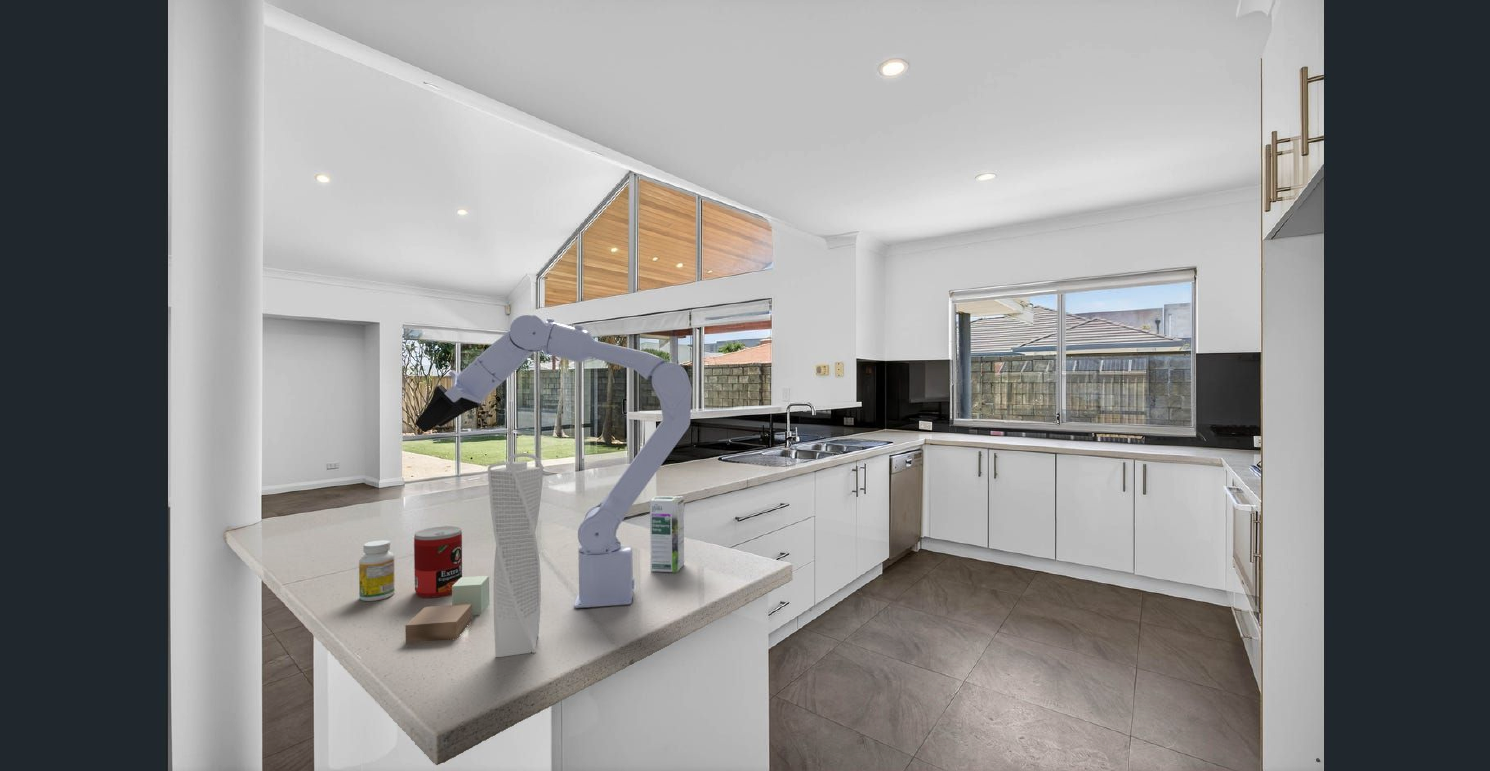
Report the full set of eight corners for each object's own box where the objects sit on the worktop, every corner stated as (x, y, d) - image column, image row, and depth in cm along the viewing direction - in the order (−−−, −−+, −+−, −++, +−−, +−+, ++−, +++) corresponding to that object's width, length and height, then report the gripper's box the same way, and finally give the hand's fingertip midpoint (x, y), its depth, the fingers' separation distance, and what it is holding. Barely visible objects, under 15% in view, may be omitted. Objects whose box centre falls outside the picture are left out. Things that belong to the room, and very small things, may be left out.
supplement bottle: (391, 599, 100) (391, 544, 100) (355, 603, 98) (355, 548, 98) (397, 589, 105) (396, 537, 105) (363, 593, 103) (362, 541, 103)
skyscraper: (543, 655, 78) (541, 453, 78) (484, 664, 76) (482, 455, 76) (546, 632, 85) (544, 447, 86) (493, 639, 83) (491, 449, 83)
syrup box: (649, 572, 113) (648, 499, 113) (658, 563, 119) (658, 494, 119) (677, 573, 112) (676, 500, 112) (685, 564, 118) (684, 494, 118)
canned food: (442, 599, 100) (442, 537, 100) (403, 596, 101) (403, 535, 101) (472, 584, 107) (471, 526, 107) (435, 582, 109) (434, 525, 109)
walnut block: (472, 622, 90) (471, 603, 90) (456, 641, 83) (456, 621, 83) (425, 625, 89) (425, 606, 89) (405, 645, 82) (405, 625, 82)
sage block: (489, 604, 97) (489, 575, 97) (481, 614, 93) (481, 584, 93) (461, 606, 96) (461, 577, 96) (452, 616, 92) (451, 586, 92)
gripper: (483, 352, 103) (425, 404, 101) (460, 351, 88) (392, 412, 87) (512, 380, 104) (455, 432, 102) (494, 384, 90) (427, 444, 88)
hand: (428, 425), depth 95 cm, fingers open, 7 cm apart
